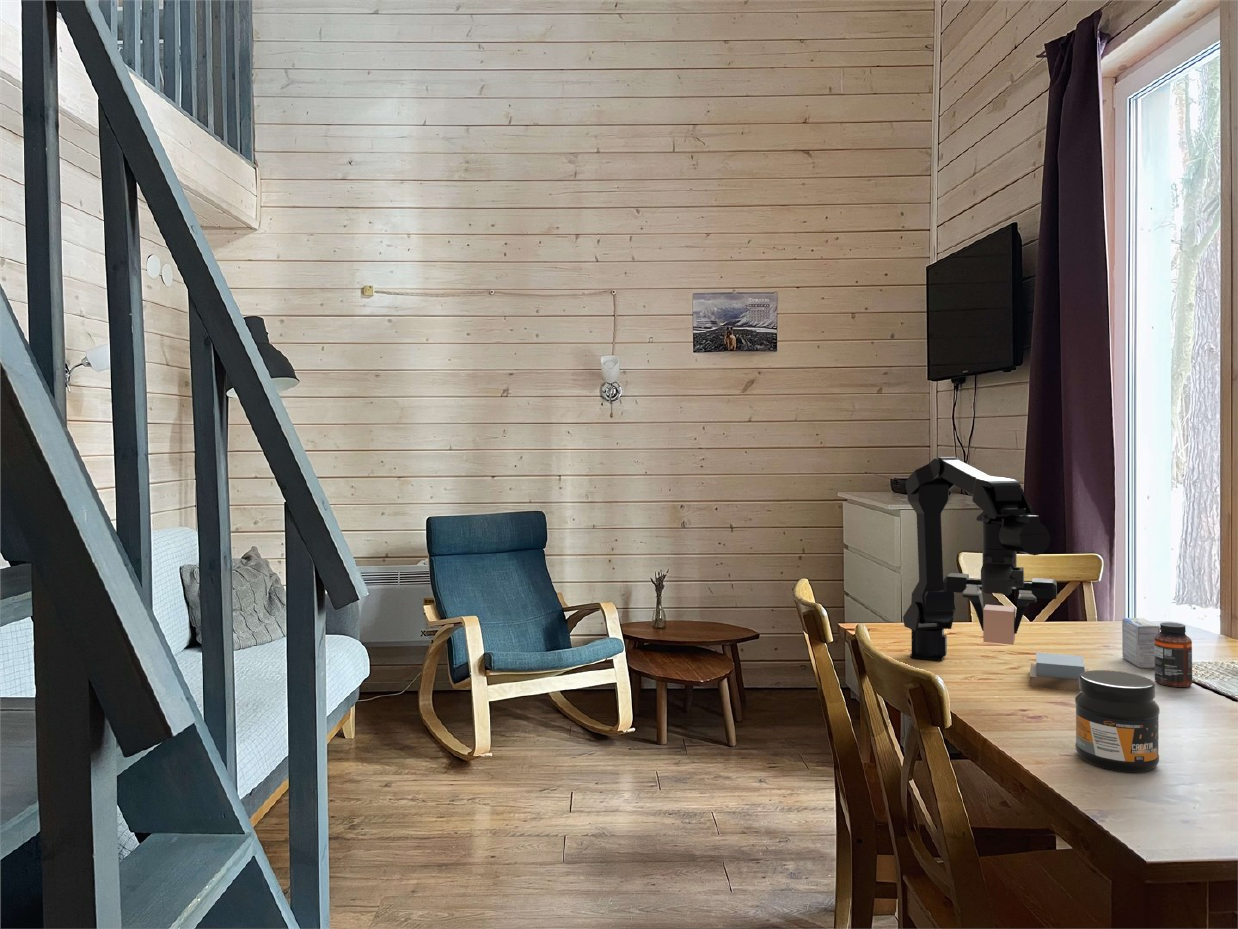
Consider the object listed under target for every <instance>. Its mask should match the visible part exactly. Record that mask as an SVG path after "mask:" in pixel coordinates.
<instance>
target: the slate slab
mask: <svg viewBox="0 0 1238 929" xmlns="http://www.w3.org/2000/svg"><path fill="white" fill-rule="evenodd" d="M1035 664H1036V676H1047V677H1057V678H1067V679H1078V680H1079V675H1080V674H1081V673H1083V672H1085V669H1086V668H1085V667H1086V666H1085V663H1084V658H1083V655H1076V654H1075V655H1074V654H1059V653H1051V652H1049V653H1048V652H1035Z"/></svg>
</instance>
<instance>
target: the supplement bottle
mask: <svg viewBox="0 0 1238 929" xmlns="http://www.w3.org/2000/svg"><path fill="white" fill-rule="evenodd" d="M1159 626H1160V633H1159V634H1157V635H1156V636H1155V639H1154V643H1155V644H1154V653H1155V668H1154V681H1155V682H1156V683H1157V684H1160V685H1163V686H1165V687H1166V686H1167V687H1172V688H1188V687H1191V686H1192V684H1193V640H1192V639H1191V637H1190V636H1188V635H1187V634H1186V625H1185V624H1183V623H1180V622H1169V621H1166V622H1161V623H1160V624H1159Z"/></svg>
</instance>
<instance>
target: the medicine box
mask: <svg viewBox="0 0 1238 929" xmlns="http://www.w3.org/2000/svg"><path fill="white" fill-rule="evenodd" d="M1121 621H1122V622H1121V626H1122V627H1121V629H1122V630H1121V632H1122V635H1121V637H1122V640H1121V641H1122V646H1121V647H1122V650H1121V651H1122V659H1124V660H1126V661H1128V662H1129V663H1131V664H1133V665H1134V666H1136V667H1137V668H1140V669H1155V653H1154V644H1155V643H1154V639H1155V636H1156V635H1157V634H1159V633H1160V632H1161V630H1160V625H1159V624H1157V623H1154V622H1152V621H1150V620H1148V619H1146V618H1143V617H1124V618H1122V620H1121Z"/></svg>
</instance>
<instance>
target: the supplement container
mask: <svg viewBox="0 0 1238 929" xmlns="http://www.w3.org/2000/svg"><path fill="white" fill-rule="evenodd" d="M1079 689H1080V690H1081V691H1078V693H1077V694H1076V695H1075V696H1074V703H1075V743H1074V744H1075V751H1076V753H1077V755H1078V756H1079V757H1080V758H1081V759H1083V760H1084V761H1086V762H1087V763H1089V764H1091V765H1093V766H1096V767H1099V768H1102V769H1105V770H1110V771H1114V772H1115V771H1116V772H1123V773H1124V772H1125V773H1143V772H1149V771H1151V770H1153V769H1155V768H1156V767H1157V766H1158V765H1159V762H1160V754H1159V730H1160V728H1159V727H1160V726H1159V722H1160V720H1159V717H1160V713H1161V711H1160V710H1161V708H1160V705H1159V704H1158V703H1157V702H1156V701H1155V700H1154V699H1156V684H1155V682H1154V681H1153V680H1152V679H1150V678H1148V677H1145V676H1143V675H1139V674H1136V673H1130V672H1124V671H1118V670H1103V669H1100V670H1097V669H1095V670H1094V669H1093V670H1088V671H1086V672H1083V673H1081V674H1080V675H1079Z"/></svg>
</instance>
